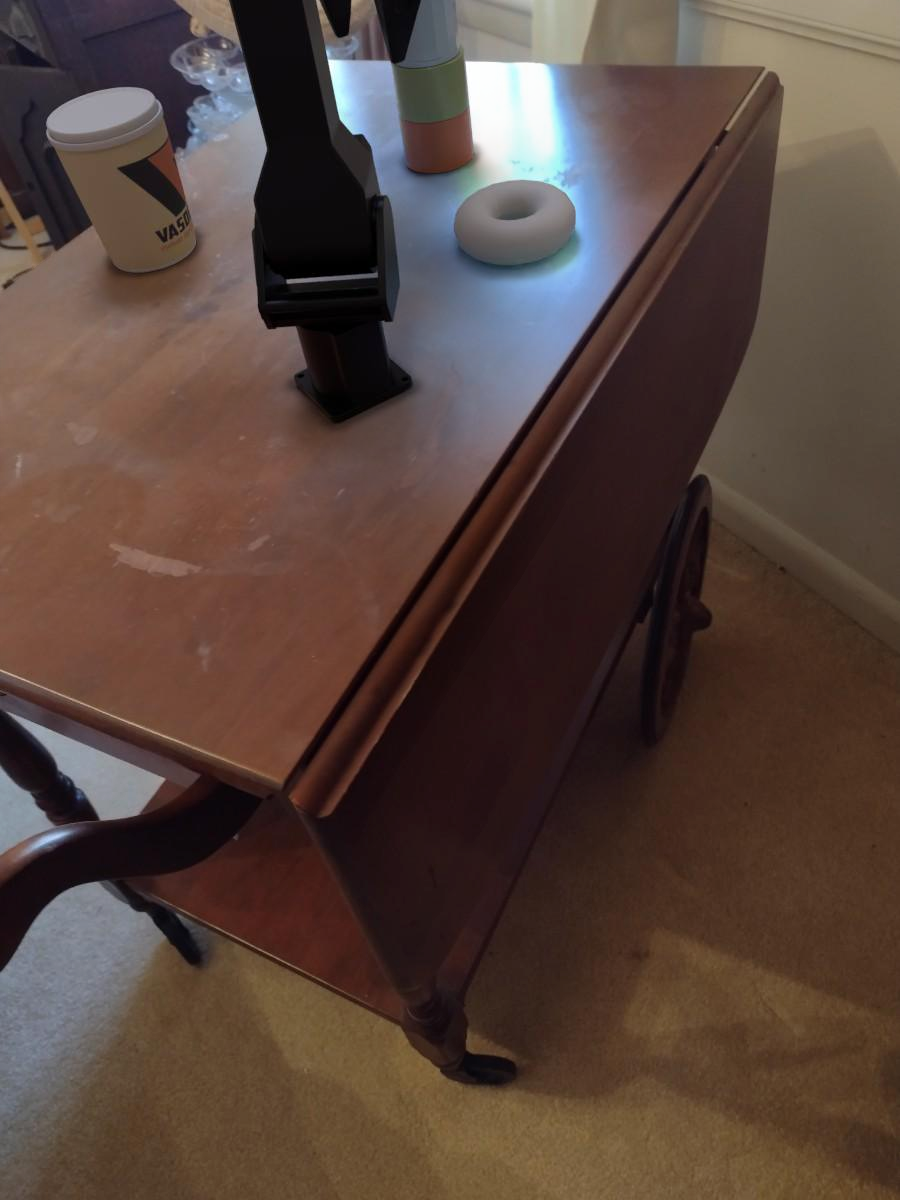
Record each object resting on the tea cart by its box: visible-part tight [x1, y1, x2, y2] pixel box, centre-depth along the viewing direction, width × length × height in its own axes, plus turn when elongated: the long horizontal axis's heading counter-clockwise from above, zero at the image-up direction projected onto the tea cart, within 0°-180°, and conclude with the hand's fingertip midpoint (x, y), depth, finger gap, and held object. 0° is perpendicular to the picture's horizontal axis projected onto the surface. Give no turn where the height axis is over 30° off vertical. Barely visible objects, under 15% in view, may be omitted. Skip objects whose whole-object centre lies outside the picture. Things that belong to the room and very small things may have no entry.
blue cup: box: [396, 0, 460, 68], centre depth 78 cm, size 6×6×6 cm
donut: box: [453, 179, 577, 266], centre depth 74 cm, size 10×4×10 cm
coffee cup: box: [46, 86, 197, 274], centre depth 77 cm, size 9×9×12 cm
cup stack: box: [390, 43, 475, 174], centre depth 84 cm, size 7×7×9 cm
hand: (369, 49), depth 73 cm, fingers open, 9 cm apart
